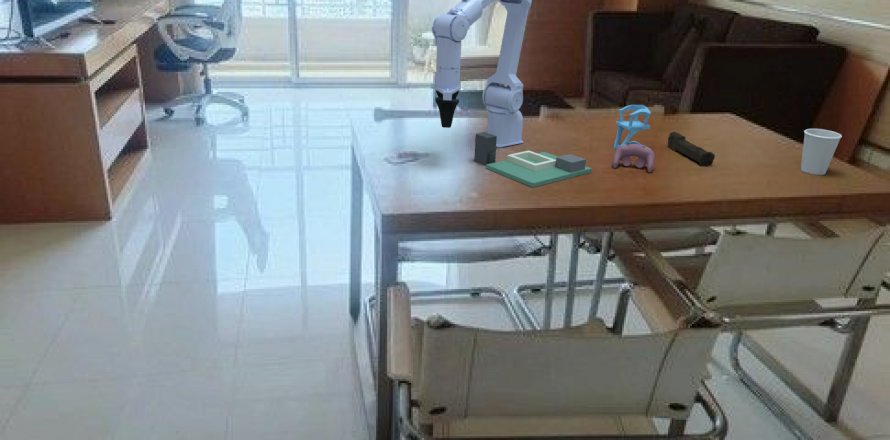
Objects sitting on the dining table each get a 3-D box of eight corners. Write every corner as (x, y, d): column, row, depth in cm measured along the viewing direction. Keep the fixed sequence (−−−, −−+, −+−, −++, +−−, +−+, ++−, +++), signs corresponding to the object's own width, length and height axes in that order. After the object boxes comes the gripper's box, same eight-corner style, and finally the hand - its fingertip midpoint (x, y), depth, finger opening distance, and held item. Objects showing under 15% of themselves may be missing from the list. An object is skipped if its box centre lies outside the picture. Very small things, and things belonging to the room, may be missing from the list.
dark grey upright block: (481, 158, 169) (482, 131, 167) (497, 164, 165) (499, 136, 162) (472, 159, 168) (473, 132, 165) (488, 166, 163) (489, 138, 161)
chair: (608, 146, 184) (614, 103, 179) (634, 144, 187) (640, 101, 182) (623, 154, 177) (629, 109, 173) (650, 152, 180) (657, 108, 175)
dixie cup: (836, 171, 169) (846, 133, 165) (825, 178, 164) (836, 139, 160) (801, 164, 174) (810, 126, 171) (790, 170, 169) (799, 132, 165)
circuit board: (543, 155, 173) (545, 142, 172) (591, 172, 162) (593, 158, 160) (486, 168, 162) (486, 154, 160) (532, 187, 150) (534, 172, 149)
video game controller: (652, 175, 166) (656, 148, 167) (652, 172, 162) (657, 144, 162) (611, 170, 169) (616, 143, 169) (611, 167, 165) (615, 139, 165)
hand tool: (713, 167, 170) (717, 149, 168) (699, 167, 169) (702, 149, 168) (676, 146, 187) (679, 130, 185) (663, 146, 186) (666, 130, 185)
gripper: (432, 61, 164) (430, 115, 170) (430, 72, 151) (429, 130, 156) (460, 62, 164) (458, 116, 170) (461, 73, 151) (459, 131, 156)
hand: (446, 123), depth 163 cm, fingers open, 7 cm apart
